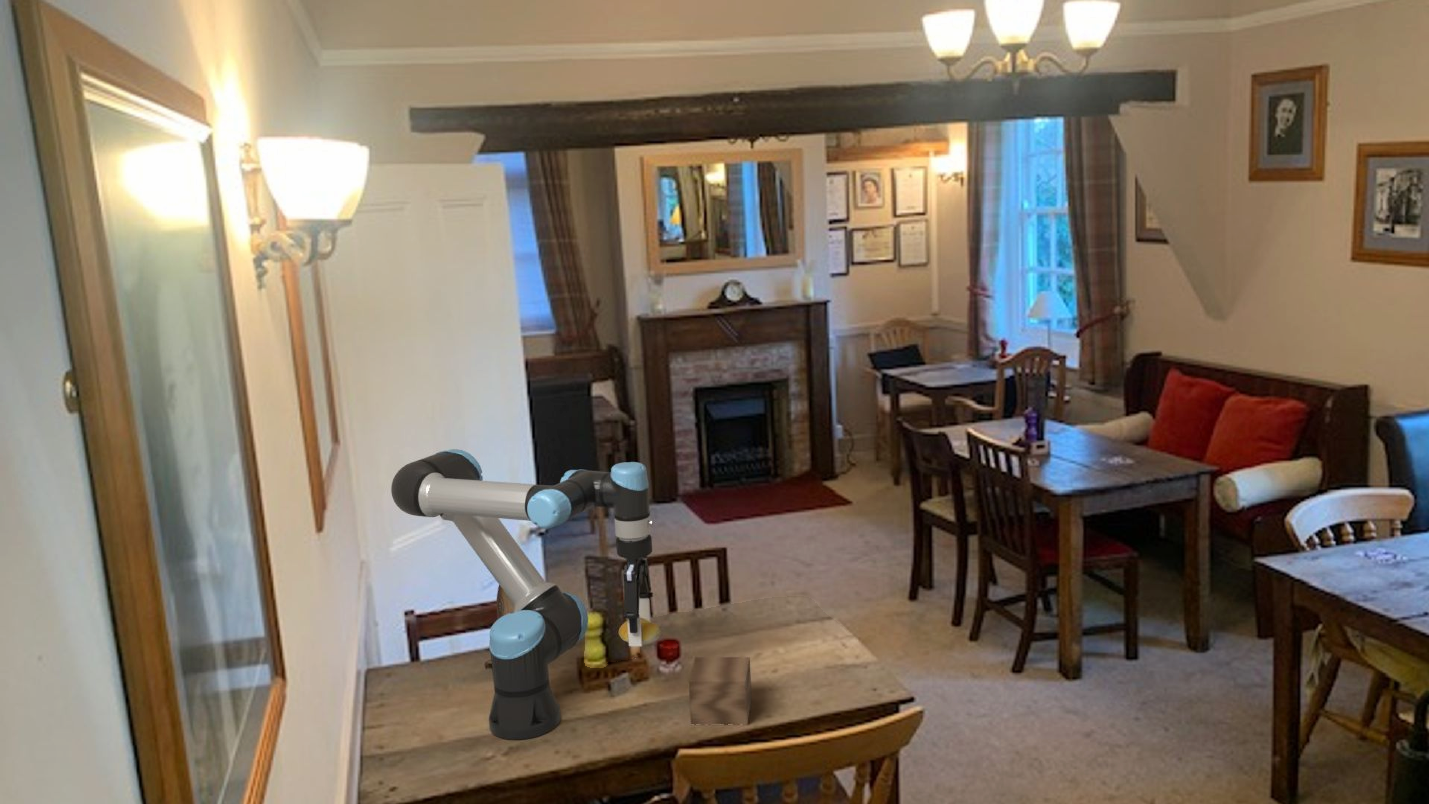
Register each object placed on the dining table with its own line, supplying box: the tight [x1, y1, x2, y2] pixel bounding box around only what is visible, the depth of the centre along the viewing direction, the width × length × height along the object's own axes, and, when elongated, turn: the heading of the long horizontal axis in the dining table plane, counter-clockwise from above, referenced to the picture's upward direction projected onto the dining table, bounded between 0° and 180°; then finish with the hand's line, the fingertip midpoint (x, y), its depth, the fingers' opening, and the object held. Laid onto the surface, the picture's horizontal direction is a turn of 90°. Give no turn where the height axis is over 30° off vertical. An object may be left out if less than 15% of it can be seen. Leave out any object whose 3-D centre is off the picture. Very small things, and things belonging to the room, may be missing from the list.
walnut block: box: [687, 656, 752, 726], centre depth 229 cm, size 12×12×10 cm
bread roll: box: [618, 618, 661, 646], centre depth 228 cm, size 8×9×4 cm
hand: (640, 636), depth 228 cm, fingers closed on bread roll, 9 cm apart
